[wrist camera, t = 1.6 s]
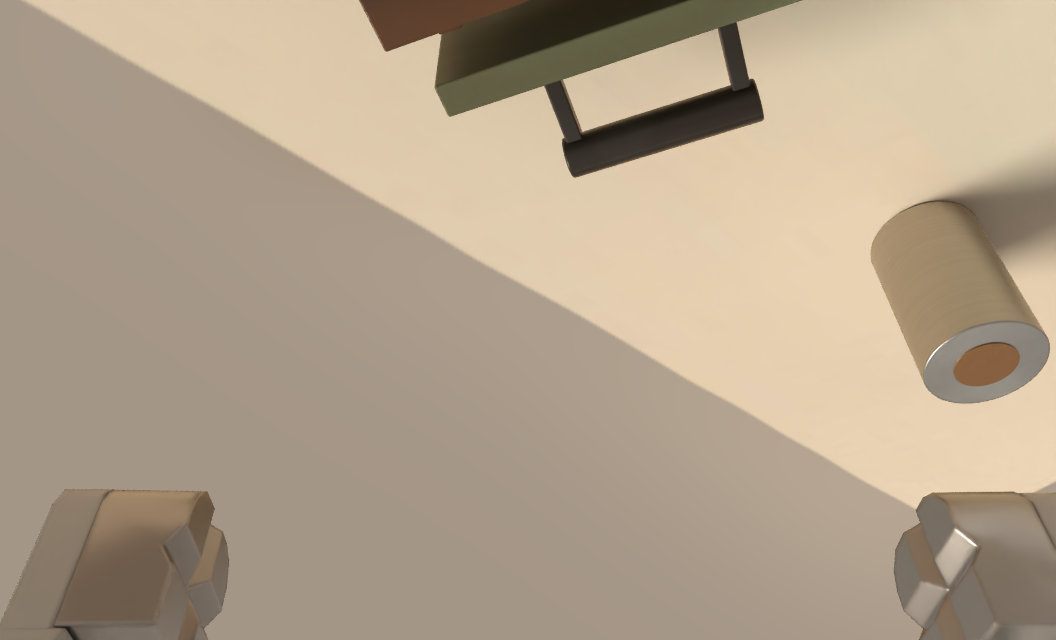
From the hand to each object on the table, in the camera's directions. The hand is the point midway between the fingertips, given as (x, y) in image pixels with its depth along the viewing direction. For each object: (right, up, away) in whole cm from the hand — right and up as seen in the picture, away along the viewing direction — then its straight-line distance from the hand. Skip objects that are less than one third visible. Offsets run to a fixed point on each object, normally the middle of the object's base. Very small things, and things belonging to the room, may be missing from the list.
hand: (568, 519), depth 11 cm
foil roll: (+19, +6, +33) cm, 38 cm away
